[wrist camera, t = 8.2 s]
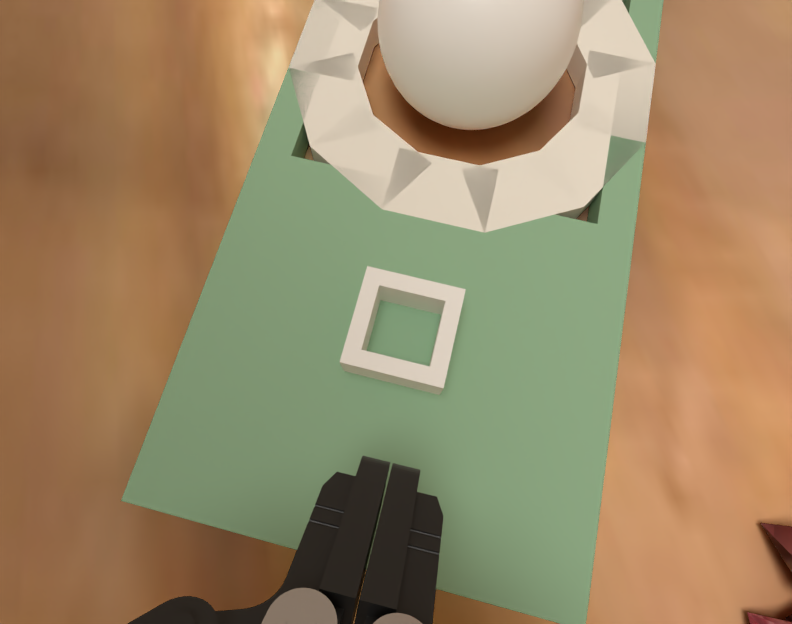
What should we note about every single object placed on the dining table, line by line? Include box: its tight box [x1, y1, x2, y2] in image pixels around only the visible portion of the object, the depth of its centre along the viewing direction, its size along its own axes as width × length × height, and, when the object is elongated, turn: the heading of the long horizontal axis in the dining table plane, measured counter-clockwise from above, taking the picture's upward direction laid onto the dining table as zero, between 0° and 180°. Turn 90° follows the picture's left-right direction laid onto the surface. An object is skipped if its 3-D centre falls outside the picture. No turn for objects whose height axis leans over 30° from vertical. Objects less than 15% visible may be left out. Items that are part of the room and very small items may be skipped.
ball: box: [377, 0, 583, 130], centre depth 20 cm, size 8×8×8 cm
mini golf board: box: [121, 0, 663, 624], centre depth 15 cm, size 30×16×16 cm, turn 166°
